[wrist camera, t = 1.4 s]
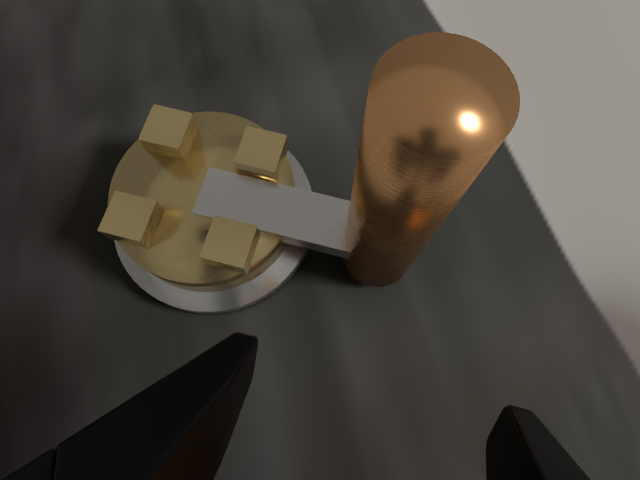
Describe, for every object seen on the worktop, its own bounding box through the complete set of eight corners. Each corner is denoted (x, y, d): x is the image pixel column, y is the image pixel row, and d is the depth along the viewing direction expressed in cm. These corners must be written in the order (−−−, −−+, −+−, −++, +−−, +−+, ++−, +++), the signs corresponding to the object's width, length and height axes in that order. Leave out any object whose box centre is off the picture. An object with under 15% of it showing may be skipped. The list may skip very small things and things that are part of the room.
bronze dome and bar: (104, 270, 21) (-160, 125, 9) (166, 125, 23) (17, -131, 12) (392, 346, 20) (493, 289, 8) (425, 186, 22) (539, -31, 11)
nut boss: (234, 356, 20) (230, 354, 19) (81, 241, 22) (70, 235, 21) (351, 196, 23) (352, 188, 22) (205, 105, 24) (200, 93, 23)
